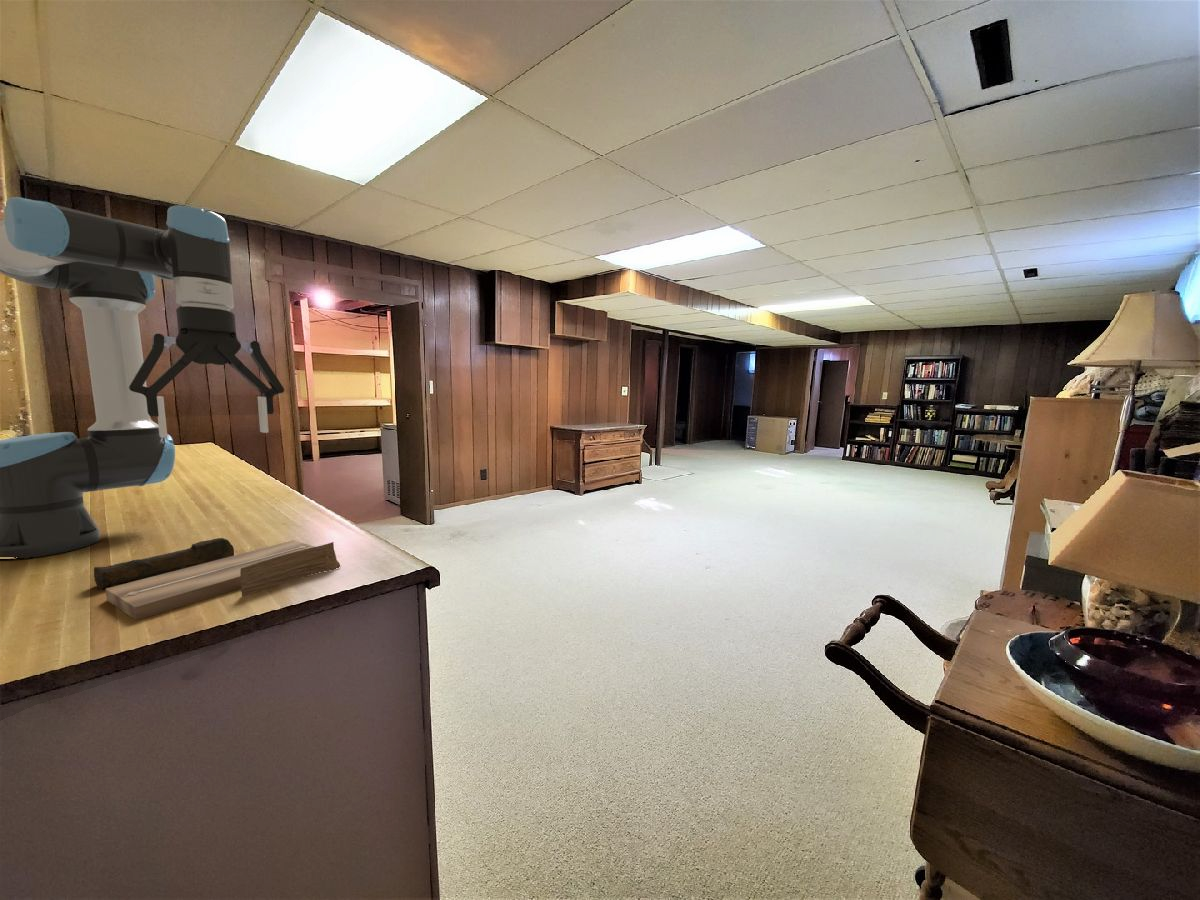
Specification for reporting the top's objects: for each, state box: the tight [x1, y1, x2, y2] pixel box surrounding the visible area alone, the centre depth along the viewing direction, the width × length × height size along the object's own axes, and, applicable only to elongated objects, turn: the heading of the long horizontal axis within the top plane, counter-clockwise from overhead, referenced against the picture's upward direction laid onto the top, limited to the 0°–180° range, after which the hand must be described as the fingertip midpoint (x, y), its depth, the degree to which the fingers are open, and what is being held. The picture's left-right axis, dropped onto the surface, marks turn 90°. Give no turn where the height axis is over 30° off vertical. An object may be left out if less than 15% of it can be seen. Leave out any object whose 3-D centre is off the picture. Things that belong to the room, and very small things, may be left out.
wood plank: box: [240, 541, 341, 597], centre depth 81 cm, size 15×2×5 cm, turn 149°
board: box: [105, 539, 315, 621], centre depth 82 cm, size 12×28×2 cm, turn 151°
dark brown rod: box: [93, 537, 235, 590], centre depth 84 cm, size 19×4×5 cm, turn 143°
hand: (217, 434), depth 80 cm, fingers open, 13 cm apart
